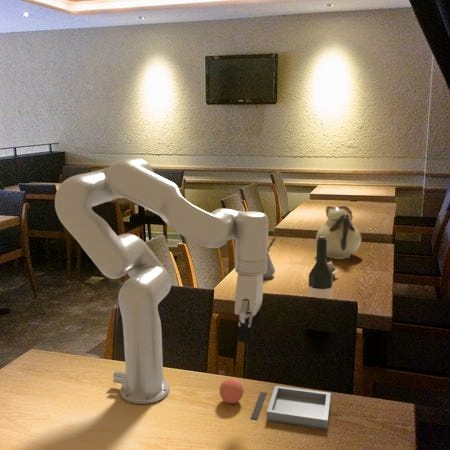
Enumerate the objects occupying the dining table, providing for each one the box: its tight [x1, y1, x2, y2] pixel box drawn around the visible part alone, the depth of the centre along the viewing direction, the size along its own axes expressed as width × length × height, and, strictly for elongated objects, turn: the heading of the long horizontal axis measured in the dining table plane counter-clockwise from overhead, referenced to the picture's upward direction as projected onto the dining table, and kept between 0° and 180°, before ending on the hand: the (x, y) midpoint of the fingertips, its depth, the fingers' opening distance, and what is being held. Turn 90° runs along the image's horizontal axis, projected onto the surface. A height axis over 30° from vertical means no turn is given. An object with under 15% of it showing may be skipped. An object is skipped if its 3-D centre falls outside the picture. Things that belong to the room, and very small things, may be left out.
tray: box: [266, 385, 332, 431], centre depth 121 cm, size 14×12×2 cm
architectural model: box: [326, 261, 339, 278], centre depth 221 cm, size 3×7×7 cm, turn 143°
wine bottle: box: [307, 236, 334, 300], centre depth 174 cm, size 8×8×30 cm
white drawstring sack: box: [315, 205, 362, 260], centre depth 254 cm, size 22×24×25 cm
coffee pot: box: [263, 237, 278, 280], centre depth 229 cm, size 21×12×15 cm, turn 152°
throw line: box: [250, 391, 267, 421], centre depth 123 cm, size 2×12×1 cm, turn 165°
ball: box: [219, 377, 244, 404], centre depth 125 cm, size 6×6×6 cm
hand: (249, 333), depth 120 cm, fingers open, 9 cm apart
